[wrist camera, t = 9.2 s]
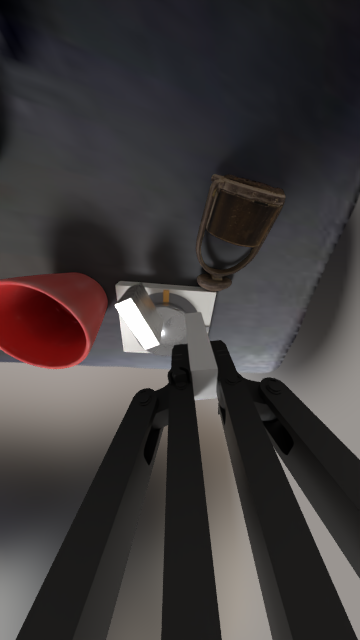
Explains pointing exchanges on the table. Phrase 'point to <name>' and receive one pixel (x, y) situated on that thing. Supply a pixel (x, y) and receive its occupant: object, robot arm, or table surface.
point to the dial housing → (180, 295)
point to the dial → (153, 321)
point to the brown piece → (237, 221)
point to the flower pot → (50, 318)
